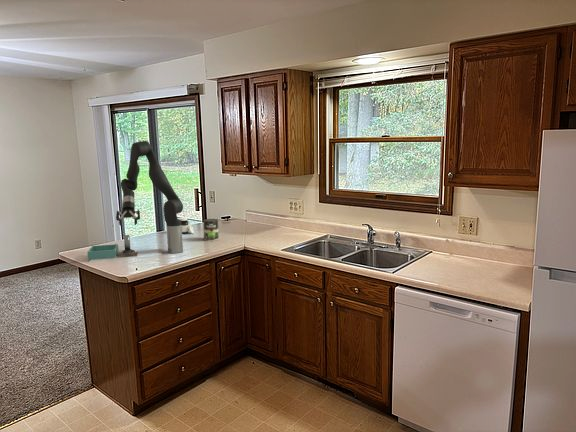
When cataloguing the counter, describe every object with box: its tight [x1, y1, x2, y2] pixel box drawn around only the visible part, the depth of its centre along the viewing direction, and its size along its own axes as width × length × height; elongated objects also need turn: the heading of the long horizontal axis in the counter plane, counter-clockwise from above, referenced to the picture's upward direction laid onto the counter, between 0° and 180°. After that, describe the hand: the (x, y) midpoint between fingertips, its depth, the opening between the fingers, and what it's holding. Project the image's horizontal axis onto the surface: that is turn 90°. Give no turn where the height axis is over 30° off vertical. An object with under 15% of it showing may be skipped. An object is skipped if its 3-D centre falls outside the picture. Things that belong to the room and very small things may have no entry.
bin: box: [87, 243, 120, 262], centre depth 260 cm, size 15×15×6 cm
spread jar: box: [177, 216, 195, 235], centre depth 326 cm, size 12×11×12 cm
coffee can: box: [203, 218, 220, 242], centre depth 304 cm, size 10×10×14 cm
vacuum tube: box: [123, 234, 133, 253], centre depth 260 cm, size 5×5×12 cm
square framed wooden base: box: [116, 249, 139, 259], centre depth 261 cm, size 11×11×3 cm
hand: (128, 224), depth 270 cm, fingers open, 8 cm apart
